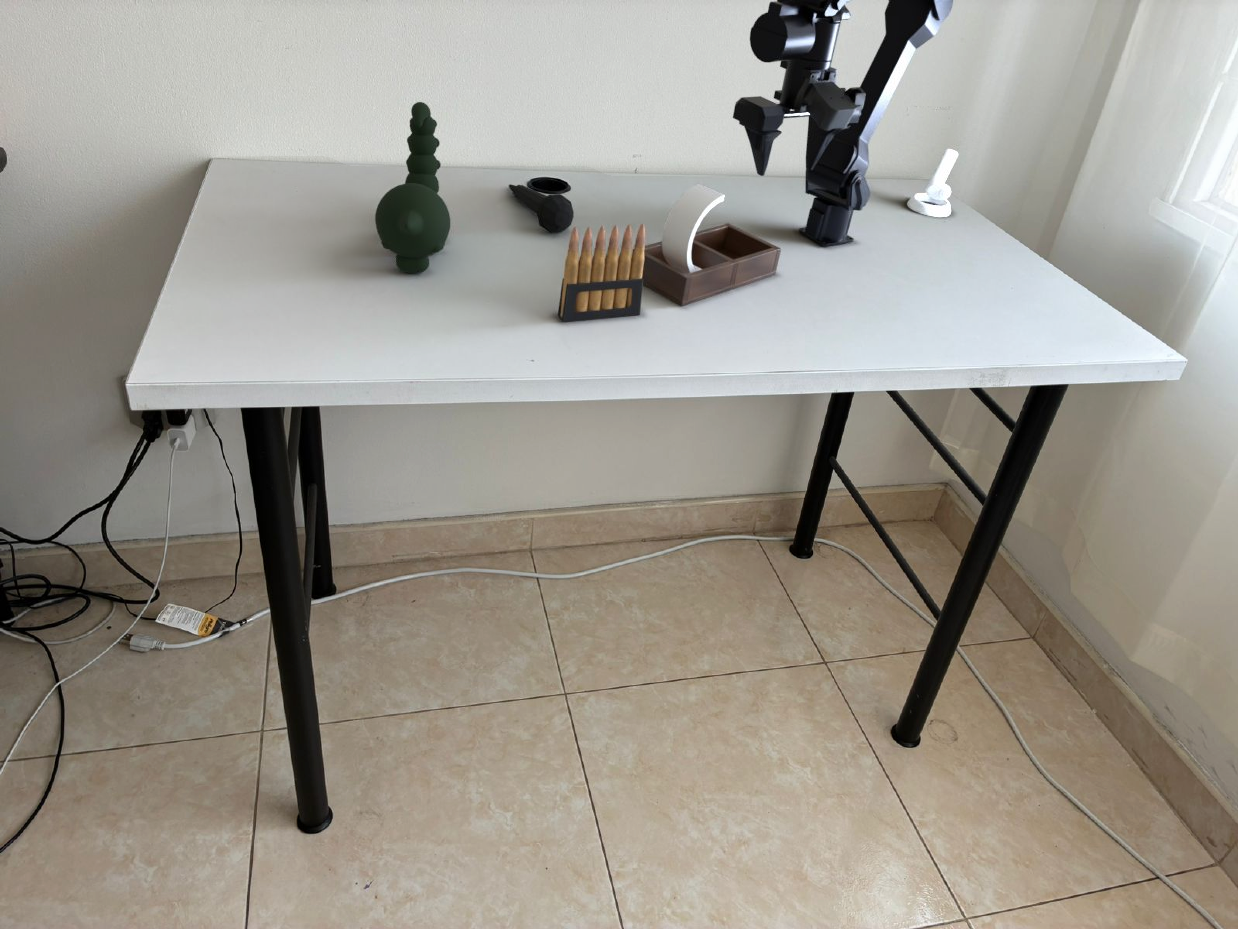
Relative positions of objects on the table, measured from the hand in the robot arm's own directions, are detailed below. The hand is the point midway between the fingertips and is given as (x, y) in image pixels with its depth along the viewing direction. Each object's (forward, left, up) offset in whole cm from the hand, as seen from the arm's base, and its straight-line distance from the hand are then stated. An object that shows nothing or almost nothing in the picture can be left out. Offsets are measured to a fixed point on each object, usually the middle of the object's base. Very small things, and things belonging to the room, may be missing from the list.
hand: (785, 172), depth 134 cm
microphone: (+25, -25, -13) cm, 38 cm away
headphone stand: (+18, +3, -12) cm, 22 cm away
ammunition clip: (+34, +7, -13) cm, 37 cm away
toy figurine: (+48, -18, -13) cm, 53 cm away
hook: (-44, -7, -13) cm, 46 cm away
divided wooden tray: (+13, +2, -13) cm, 19 cm away
